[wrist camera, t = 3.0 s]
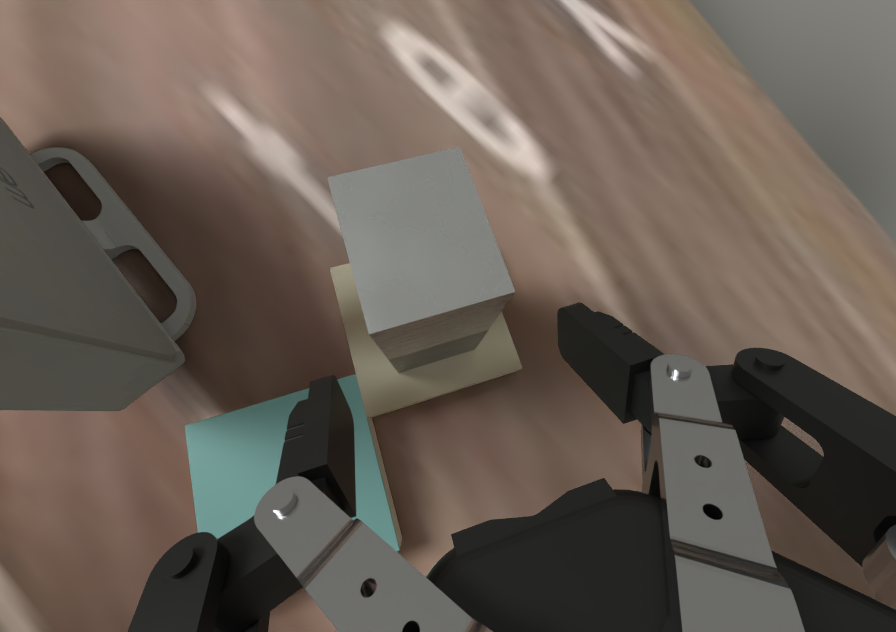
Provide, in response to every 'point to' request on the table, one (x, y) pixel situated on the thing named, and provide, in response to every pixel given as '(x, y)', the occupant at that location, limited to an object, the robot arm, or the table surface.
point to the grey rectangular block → (421, 256)
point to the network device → (76, 293)
